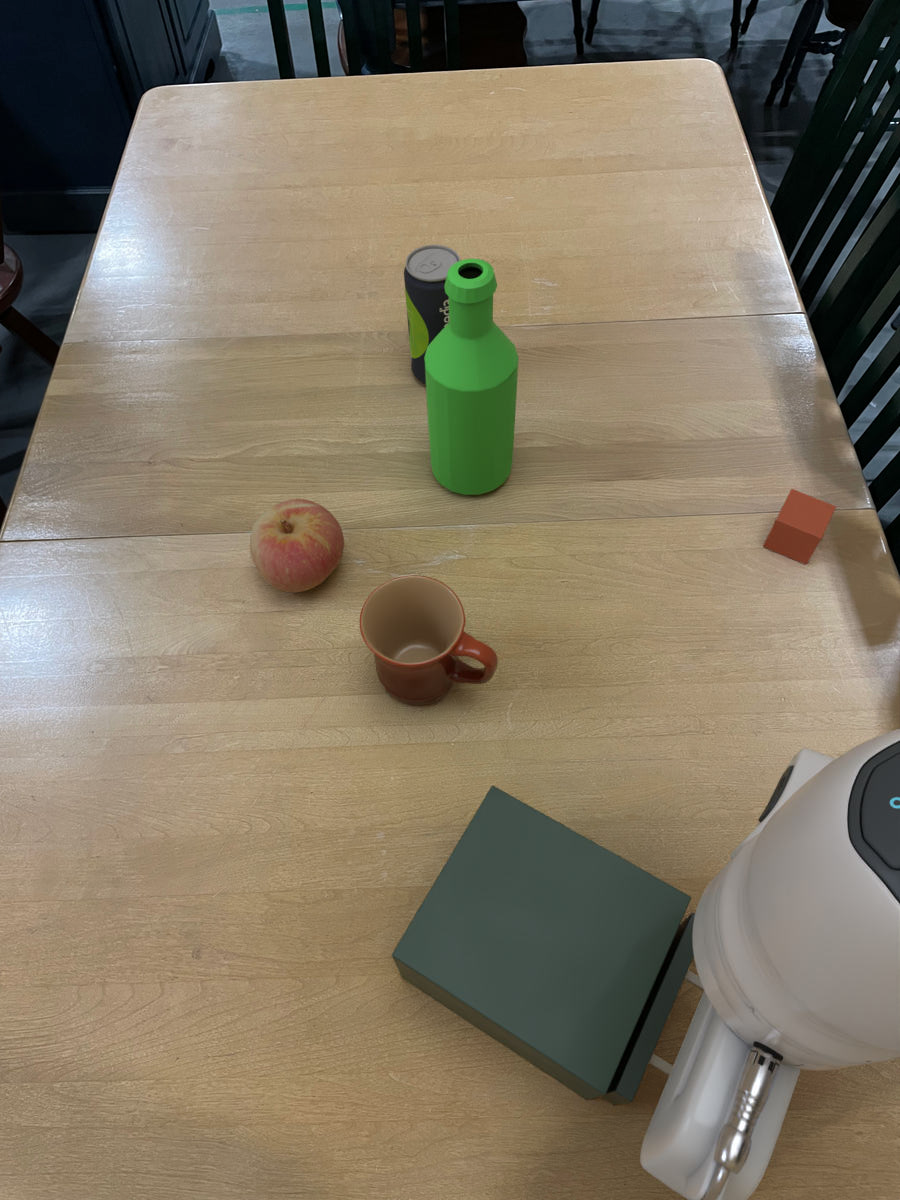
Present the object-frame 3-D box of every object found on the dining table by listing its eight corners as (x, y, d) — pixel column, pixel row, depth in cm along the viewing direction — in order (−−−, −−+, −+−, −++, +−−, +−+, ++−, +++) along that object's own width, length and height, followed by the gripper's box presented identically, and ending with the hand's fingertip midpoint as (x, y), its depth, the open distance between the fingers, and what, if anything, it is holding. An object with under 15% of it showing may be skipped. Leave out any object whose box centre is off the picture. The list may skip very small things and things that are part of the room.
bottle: (476, 426, 95) (477, 225, 74) (528, 471, 92) (545, 273, 71) (415, 465, 93) (397, 268, 71) (466, 513, 89) (463, 320, 68)
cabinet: (664, 926, 67) (692, 896, 58) (587, 1100, 61) (605, 1095, 52) (490, 825, 71) (492, 784, 63) (401, 977, 65) (390, 955, 57)
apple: (364, 559, 86) (355, 510, 79) (308, 622, 82) (294, 576, 76) (298, 521, 89) (283, 471, 82) (241, 580, 85) (221, 533, 78)
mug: (355, 696, 78) (340, 641, 69) (397, 621, 82) (389, 561, 73) (474, 746, 75) (474, 696, 66) (512, 666, 79) (517, 609, 71)
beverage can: (432, 398, 98) (425, 289, 85) (401, 368, 101) (391, 258, 88) (474, 375, 100) (475, 264, 87) (443, 346, 103) (439, 235, 90)
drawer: (745, 977, 64) (777, 959, 57) (679, 1148, 58) (706, 1151, 51) (517, 845, 69) (522, 815, 63) (437, 989, 64) (433, 973, 57)
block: (820, 533, 87) (836, 506, 83) (806, 565, 85) (821, 538, 81) (777, 516, 88) (791, 488, 84) (762, 546, 86) (776, 519, 82)
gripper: (799, 1269, 29) (707, 1230, 41) (948, 782, 39) (838, 863, 50) (632, 1157, 31) (589, 1150, 43) (812, 718, 40) (736, 810, 52)
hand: (724, 993), depth 47 cm, fingers closed
